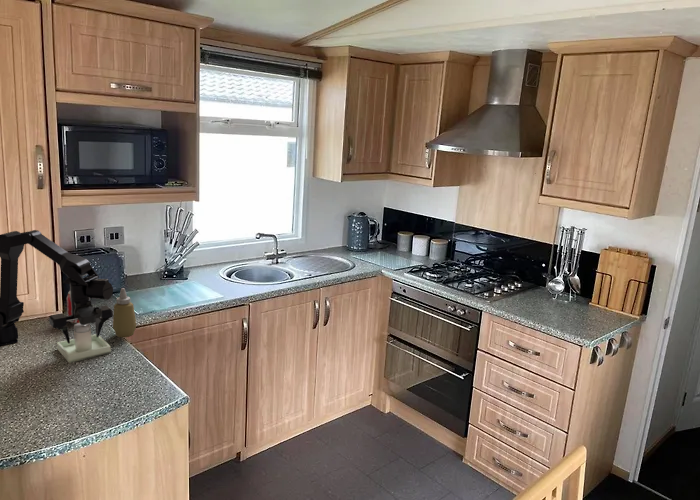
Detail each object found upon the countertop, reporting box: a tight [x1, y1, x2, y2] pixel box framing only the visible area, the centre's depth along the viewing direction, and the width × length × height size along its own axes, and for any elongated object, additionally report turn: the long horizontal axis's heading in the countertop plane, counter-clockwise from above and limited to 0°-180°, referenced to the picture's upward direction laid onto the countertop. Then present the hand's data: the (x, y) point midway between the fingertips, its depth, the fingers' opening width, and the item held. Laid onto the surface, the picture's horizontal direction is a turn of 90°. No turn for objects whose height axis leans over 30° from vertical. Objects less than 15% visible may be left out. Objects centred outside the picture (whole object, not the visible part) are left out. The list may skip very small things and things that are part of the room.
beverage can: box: [66, 290, 80, 325], centre depth 209 cm, size 8×8×12 cm
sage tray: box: [56, 333, 112, 364], centre depth 185 cm, size 13×13×2 cm
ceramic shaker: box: [73, 323, 92, 353], centre depth 184 cm, size 5×5×9 cm
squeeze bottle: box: [112, 287, 137, 338], centre depth 198 cm, size 8×8×18 cm
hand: (83, 339), depth 184 cm, fingers open, 9 cm apart
